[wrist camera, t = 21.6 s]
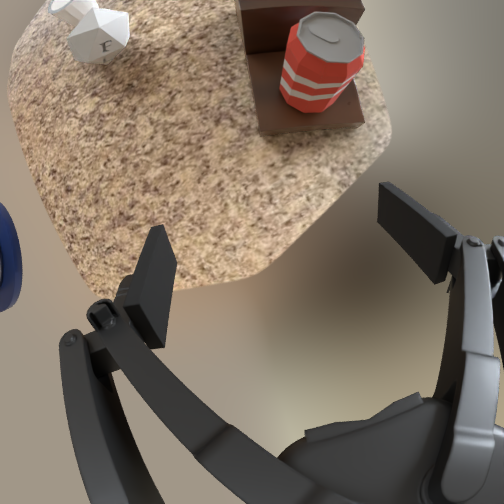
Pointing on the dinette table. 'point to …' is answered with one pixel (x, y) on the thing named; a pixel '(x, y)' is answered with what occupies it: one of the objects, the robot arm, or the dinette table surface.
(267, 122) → the wooden l-shaped step
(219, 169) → the dinette table surface
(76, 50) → the die
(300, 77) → the beverage can
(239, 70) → the dinette table surface
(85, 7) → the shot glass
